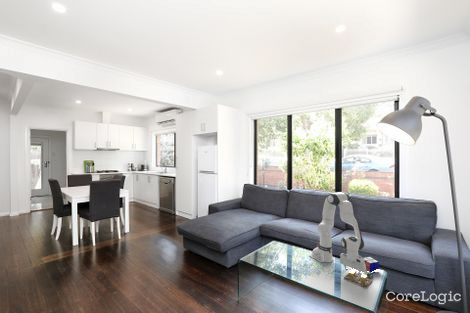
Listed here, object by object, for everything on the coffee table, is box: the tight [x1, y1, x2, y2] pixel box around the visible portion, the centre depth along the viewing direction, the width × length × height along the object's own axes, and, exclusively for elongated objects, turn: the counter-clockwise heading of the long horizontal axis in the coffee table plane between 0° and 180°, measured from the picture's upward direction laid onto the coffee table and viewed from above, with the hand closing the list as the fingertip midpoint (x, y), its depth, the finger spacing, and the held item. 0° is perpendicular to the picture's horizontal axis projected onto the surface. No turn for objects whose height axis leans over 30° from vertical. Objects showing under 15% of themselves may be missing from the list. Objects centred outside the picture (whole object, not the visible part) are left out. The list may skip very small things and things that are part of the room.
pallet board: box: [343, 272, 373, 289], centre depth 191 cm, size 18×12×2 cm, turn 41°
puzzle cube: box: [363, 256, 380, 272], centre depth 207 cm, size 10×10×10 cm
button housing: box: [365, 272, 374, 280], centre depth 196 cm, size 5×5×3 cm
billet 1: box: [348, 270, 357, 280], centre depth 195 cm, size 4×5×6 cm
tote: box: [348, 267, 367, 276], centre depth 205 cm, size 12×9×2 cm
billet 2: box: [359, 274, 368, 285], centre depth 188 cm, size 4×5×6 cm
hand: (352, 272), depth 195 cm, fingers open, 8 cm apart
